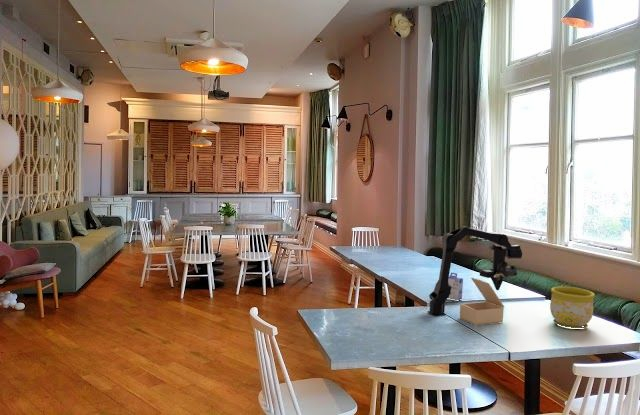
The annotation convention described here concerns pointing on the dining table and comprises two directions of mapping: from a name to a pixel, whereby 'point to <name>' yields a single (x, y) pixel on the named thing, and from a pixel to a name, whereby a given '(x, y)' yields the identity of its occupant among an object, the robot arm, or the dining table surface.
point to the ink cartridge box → (455, 287)
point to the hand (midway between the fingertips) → (497, 290)
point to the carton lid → (487, 292)
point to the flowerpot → (571, 306)
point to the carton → (481, 313)
